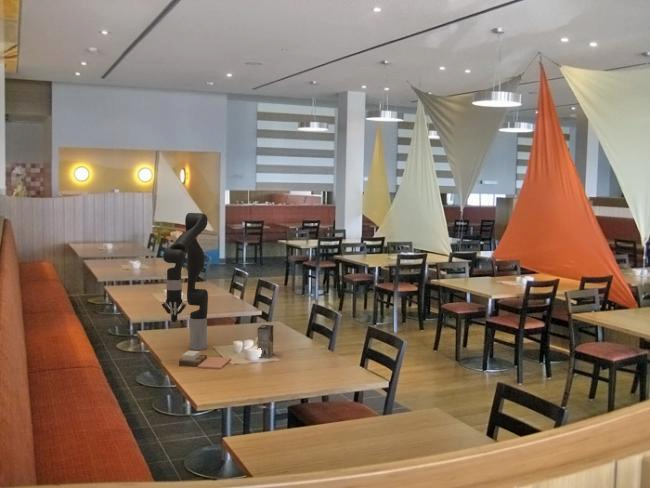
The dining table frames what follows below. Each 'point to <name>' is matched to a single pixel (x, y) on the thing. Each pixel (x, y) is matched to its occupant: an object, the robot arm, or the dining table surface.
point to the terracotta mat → (214, 363)
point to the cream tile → (190, 355)
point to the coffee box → (265, 340)
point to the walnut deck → (193, 361)
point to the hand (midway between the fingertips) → (174, 321)
